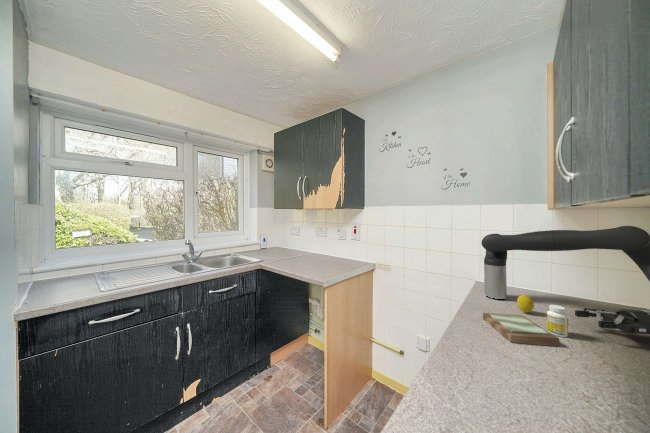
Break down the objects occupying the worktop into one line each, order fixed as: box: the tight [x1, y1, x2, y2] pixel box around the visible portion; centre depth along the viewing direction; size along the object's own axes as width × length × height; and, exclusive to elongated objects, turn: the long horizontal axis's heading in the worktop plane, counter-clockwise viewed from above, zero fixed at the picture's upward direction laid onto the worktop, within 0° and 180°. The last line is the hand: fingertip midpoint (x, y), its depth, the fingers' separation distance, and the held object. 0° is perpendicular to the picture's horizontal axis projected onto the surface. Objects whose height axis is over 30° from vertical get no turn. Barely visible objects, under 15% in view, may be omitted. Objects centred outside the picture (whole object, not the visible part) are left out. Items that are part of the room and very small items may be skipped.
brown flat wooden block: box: [482, 312, 560, 347], centre depth 83 cm, size 18×14×3 cm
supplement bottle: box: [546, 304, 569, 338], centre depth 81 cm, size 5×5×10 cm
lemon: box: [516, 294, 535, 314], centre depth 98 cm, size 6×6×8 cm
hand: (587, 318), depth 79 cm, fingers open, 8 cm apart
